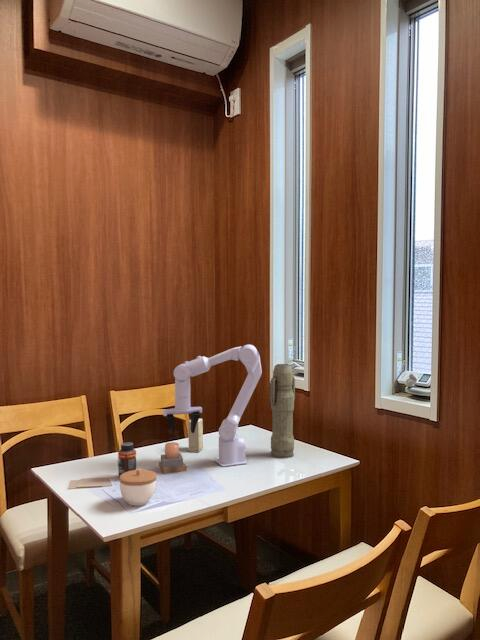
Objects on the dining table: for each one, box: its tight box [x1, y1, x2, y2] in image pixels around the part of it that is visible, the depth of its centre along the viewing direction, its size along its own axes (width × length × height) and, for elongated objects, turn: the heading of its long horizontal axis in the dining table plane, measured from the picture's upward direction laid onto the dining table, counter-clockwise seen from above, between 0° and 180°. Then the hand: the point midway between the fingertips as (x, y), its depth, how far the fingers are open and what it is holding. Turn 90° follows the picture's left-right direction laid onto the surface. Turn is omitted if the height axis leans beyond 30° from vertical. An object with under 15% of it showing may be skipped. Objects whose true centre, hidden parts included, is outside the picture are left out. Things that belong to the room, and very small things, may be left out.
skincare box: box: [187, 418, 204, 453], centre depth 198 cm, size 6×4×12 cm
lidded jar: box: [118, 468, 158, 506], centre depth 146 cm, size 11×11×9 cm
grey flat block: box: [160, 452, 184, 468], centre depth 175 cm, size 7×7×2 cm
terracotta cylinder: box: [164, 442, 180, 459], centre depth 175 cm, size 5×5×4 cm
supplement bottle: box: [117, 442, 137, 478], centre depth 166 cm, size 6×6×11 cm
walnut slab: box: [158, 461, 188, 475], centre depth 175 cm, size 8×8×2 cm
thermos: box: [269, 363, 296, 459], centre depth 192 cm, size 9×12×35 cm
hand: (182, 433), depth 183 cm, fingers open, 7 cm apart
